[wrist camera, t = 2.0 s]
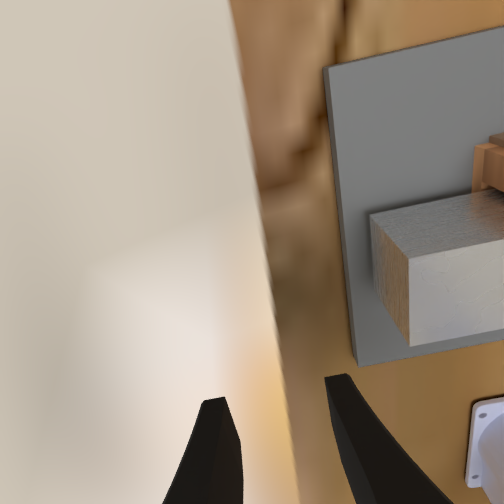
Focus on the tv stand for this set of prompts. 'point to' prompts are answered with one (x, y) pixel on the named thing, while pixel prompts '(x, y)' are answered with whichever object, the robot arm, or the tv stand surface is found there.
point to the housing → (489, 164)
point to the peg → (441, 266)
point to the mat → (407, 158)
